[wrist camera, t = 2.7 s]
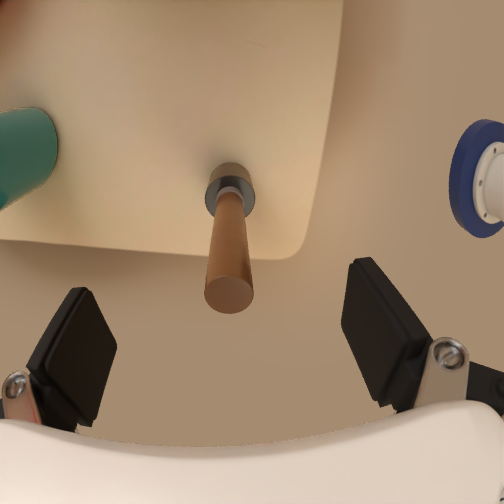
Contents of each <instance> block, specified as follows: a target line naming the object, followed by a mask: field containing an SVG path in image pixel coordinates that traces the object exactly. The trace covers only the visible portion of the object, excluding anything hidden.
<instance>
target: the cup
mask: <svg viewBox="0 0 504 504" xmlns="http://www.w3.org/2000/svg"><path fill="white" fill-rule="evenodd" d="M56 157H57V136H56V131H55V128H54V125H53V123H52V121H51V119H50V118H49V116H48V115H47V114H46V113H45V112H44V111H42V110H41V109H39V108H36V107H23V108H16V109H10V110H4V111H0V212H1V211H2V210H4V209H5V208H7V207H8V206H10V205H11V204H13V203H15V202H16V201H18V200H19V199H21V198H23V197H24V196H26V195H27V194H29V193H31V192H32V191H34V190H36V189H38V188H39V187H40V186H42V185H43V184H44V183H45V182H46V181H47V179H48V178H49V176H50V175H51V173H52V171H53V168H54V165H55V162H56Z"/></svg>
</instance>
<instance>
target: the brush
mask: <svg viewBox="0 0 504 504" xmlns="http://www.w3.org/2000/svg"><path fill="white" fill-rule="evenodd" d="M205 204H206V207H207V209H208V211H209V213H210V214H211V215H212V216H213V217H214V224H213V231H212V238H211V245H210V253H209V260H208V268H207V275H206V284H205V292H204V295H205V299H206V301H207V303H208V305H209V306H210V307H211V308H213V309H214V310H216V311H218V312H221V313H226V314H233V313H237V312H240V311H243V310H244V309H246V308H247V307H248V306H249V305H250V303H251V302H252V300H253V296H254V294H253V293H254V292H253V284H252V275H251V266H250V258H249V249H248V241H247V232H246V224H245V217H247V216H248V215H249V214H250V212H251V211H252V209H253V207H254V204H255V193H254V190H253V186H252V182H251V178H250V175H249V173H248V171H247V170H246V169H245V168H244V167H243V166H241V165H240V164H237V163H224V164H222V165H220V166H218V167H217V168H216V169H215V170H214V171H213V173H212V175H211V178H210V181H209V184H208V187H207V190H206V194H205Z"/></svg>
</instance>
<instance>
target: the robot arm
mask: <svg viewBox="0 0 504 504" xmlns="http://www.w3.org/2000/svg"><path fill="white" fill-rule="evenodd" d="M473 203H474V207H475V210H476V213H477V214H478V216H479V217H480V218H481V219H482V220H483V221H485V222H486V223H489V224H494V223H497V222H499V221H500V220H501V221H503V222H504V143H502V142H494V143H492V144H490V145H489V146H488V147H487V148H486V149H485V150H484V152H483V153H482V155H481V157H480V159H479V161H478V164H477V166H476V170H475V174H474V180H473ZM341 327H342V330H343V332H344V334H345V337H346V339H347V341H348V343H349V345H350V348H351V350H352V352H353V355H354V357H355V359H356V361H357V364H358V366H359V369H360V371H361V373H362V376H363V378H364V380H365V383H366V385H367V388H368V390H369V392H370V395H371V397H372V399H373V400H374V401H378V403H379V406H380V407H384V406H387V405H389V404H392V406H393V409H394V410H395V412H394V414H393V415H391V416H388V417H385V418H382V419H379V420H375V421H372V422H368V423H364V424H361V425H357V426H353V427H349V428H345V429H341V430H337V431H332V432H328V433H323V434H319V435H313V436H308V437H303V438H297V439H291V440H284V441H277V442H268V443H259V444H248V445H235V446H213V447H212V446H211V447H186V446H162V445H149V444H138V443H128V442H122V441H114V440H108V439H102V438H96V437H91V436H86V435H81V434H79V432H78V429H77V423H78V424H80V425H82V426H87V427H92V423H93V420H95V419H96V418H97V414H98V411H99V407H100V403H101V399H102V396H103V392H104V389H105V385H106V382H107V379H108V376H109V372H110V369H111V366H112V363H113V360H114V357H115V353H116V350H117V343H116V340H115V338H114V337H113V335H112V333H111V331H110V329H109V327H108V325H107V323H106V321H105V319H104V317H103V315H102V313H101V311H100V309H99V307H98V304H97V302H96V300H95V298H94V296H93V294H92V292H91V291H89V290H88V289H87V288H86V287H77V288H72V289H71V290H70V291H69V293H68V295H67V296H66V298H65V299H64V301H63V302H62V304H61V306H60V307H59V309H58V310H57V312H56V313H55V315H54V317H53V318H52V320H51V322H50V323H49V325H48V327H47V329H46V330H45V332H44V334H43V335H42V337H41V339H40V341H39V343H38V344H37V346H36V348H35V350H34V352H33V354H32V355H31V357H30V359H29V361H28V363H27V365H26V367H27V368H28V370H29V371H30V372H31V373H30V375H28V374H27V373H26V372H24V371H16V372H13V373H12V374H10V375H9V376H8V377H7V378H6V380H5V381H4V383H3V386H2V398H1V399H0V504H504V372H501V371H498V370H495V369H492V368H489V367H486V366H483V365H480V364H477V363H474V362H471V361H469V353H468V351H467V349H466V348H465V346H464V345H463V344H462V343H461V342H459V341H458V340H456V339H453V338H450V337H441V338H438V339H436V340H434V341H433V339H432V338H431V336H430V334H429V333H428V332H427V330H426V328H425V327H424V325H423V324H422V323H421V321H420V320H419V319H418V317H417V316H416V314H415V313H414V311H412V309H411V308H410V306H409V305H408V303H407V302H406V301H405V299H404V298H403V297H402V295H401V294H400V293H399V292H398V290H397V289H396V288H395V286H394V285H393V284H392V283H391V281H390V280H389V279H388V277H387V276H386V275H385V274H384V272H383V271H382V270H381V269H380V268H379V266H378V265H377V264H376V263H375V262H374V260H373V259H372V258H371V257H365V258H358V259H355V260H354V262H353V263H352V264H350V265H349V270H348V278H347V286H346V292H345V299H344V306H343V312H342V318H341Z"/></svg>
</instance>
